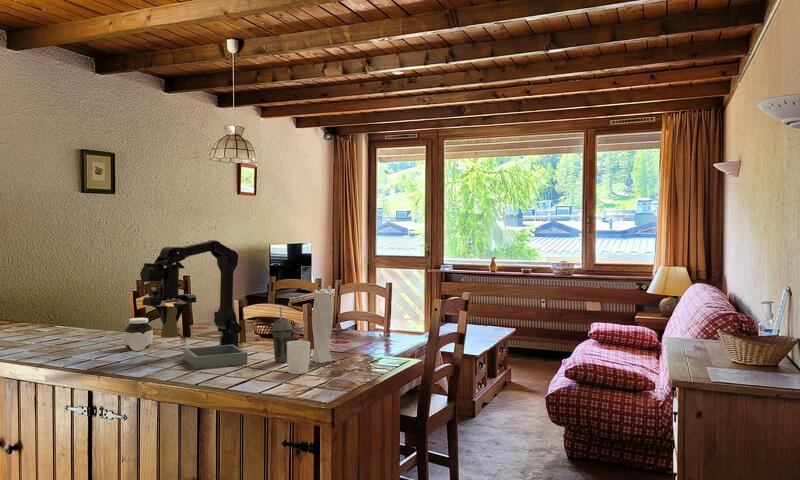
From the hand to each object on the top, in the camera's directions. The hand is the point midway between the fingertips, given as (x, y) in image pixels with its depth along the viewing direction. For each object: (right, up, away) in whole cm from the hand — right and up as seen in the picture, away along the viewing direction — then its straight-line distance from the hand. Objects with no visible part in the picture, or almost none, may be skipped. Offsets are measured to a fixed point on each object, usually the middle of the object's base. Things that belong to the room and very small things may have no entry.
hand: (169, 323), depth 213 cm
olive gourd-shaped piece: (0, -5, 0) cm, 5 cm away
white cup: (+51, -14, -19) cm, 56 cm away
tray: (+18, -13, -5) cm, 23 cm away
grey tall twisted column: (+57, -14, -2) cm, 58 cm away
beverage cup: (+42, -14, -3) cm, 44 cm away
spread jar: (-19, -13, +16) cm, 28 cm away
